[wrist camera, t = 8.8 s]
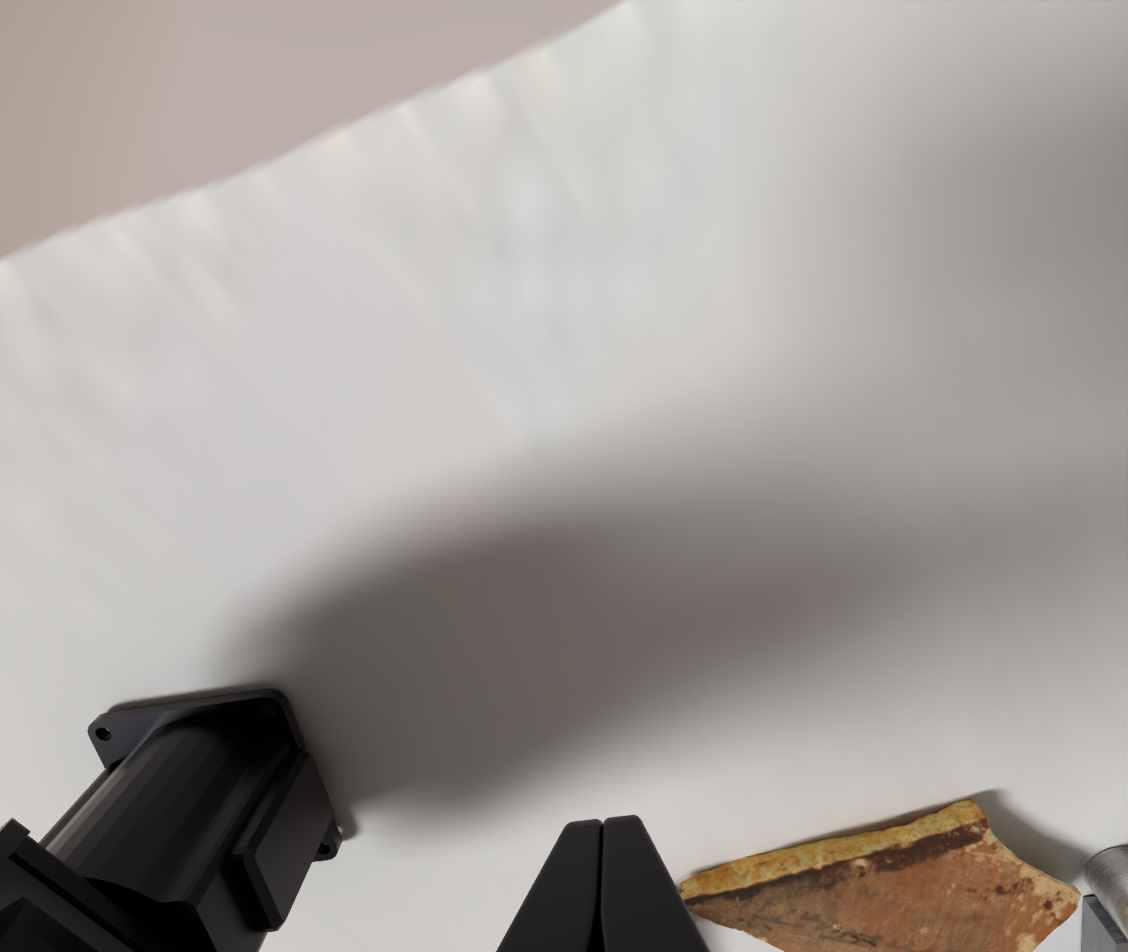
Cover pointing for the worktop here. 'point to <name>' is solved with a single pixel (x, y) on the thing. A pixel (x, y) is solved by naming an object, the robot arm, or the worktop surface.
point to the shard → (890, 891)
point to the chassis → (1106, 903)
